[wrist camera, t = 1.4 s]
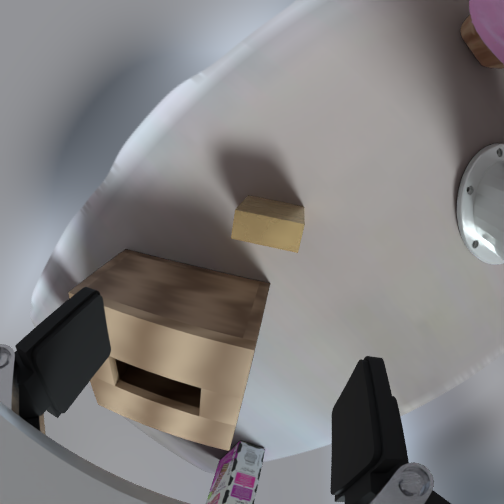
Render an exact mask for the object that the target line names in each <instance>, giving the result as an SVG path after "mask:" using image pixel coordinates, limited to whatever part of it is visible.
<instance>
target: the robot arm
mask: <svg viewBox="0 0 504 504" xmlns="http://www.w3.org/2000/svg"><path fill="white" fill-rule="evenodd" d="M457 220H458V226H459V230H460V234H461V237H462V239H463V241H464V243H465V245H466V246H467V248H468V249H469V251H470V252H471V253H472V254H473V255H474V256H476V257H477V258H478V259H480V260H481V261H483V262H485V263H488V264H495V265H498V264H503V263H504V144H492V145H489V146H486V147H485V148H483V149H482V150H480V151H479V152H478V153H477V154H476V155H475V156H474V157H473V158H472V160H471V161H470V163H469V164H468V166H467V168H466V170H465V172H464V174H463V177H462V180H461V183H460V187H459V191H458V198H457ZM16 349H17V351H16V352H15V353H14V351H13V349H12V348H11V347H10V346H7V345H2V344H0V504H189V503H186V502H182V501H179V500H176V499H173V498H170V497H167V496H164V495H162V494H159V493H156V492H154V491H151V490H148V489H146V488H143V487H141V486H138V485H136V484H134V483H132V482H129V481H127V480H125V479H123V478H120V477H118V476H116V475H114V474H112V473H110V472H108V471H106V470H104V469H102V468H100V467H98V466H96V465H94V464H92V463H90V462H89V461H87V460H85V459H83V458H81V457H79V456H78V455H76V454H75V453H73V452H71V451H69V450H68V449H66V448H64V447H63V446H61V445H60V444H58V443H57V442H55V441H54V440H52V439H51V438H49V437H48V436H46V435H45V425H44V415H43V414H44V412H45V411H46V410H47V411H48V412H49V413H51V414H53V415H54V416H55V417H57V418H58V417H59V416H60V414H61V413H65V412H66V411H67V410H68V408H69V407H70V406H71V404H72V403H73V402H74V400H75V399H76V398H77V396H78V395H79V394H80V393H81V391H82V390H83V389H84V387H85V386H86V385H87V384H88V382H89V381H90V380H91V379H92V377H93V376H94V375H95V373H96V372H97V371H98V370H99V368H100V367H101V366H102V365H103V363H104V362H105V361H106V360H107V358H108V357H109V356H110V353H111V345H110V340H109V334H108V329H107V323H106V316H105V309H104V302H103V297H102V296H101V295H100V292H99V291H97V290H94V289H92V288H89V287H84V288H82V289H81V290H80V291H78V292H77V293H76V294H75V295H73V296H72V297H71V298H70V299H69V300H67V301H66V302H65V303H64V304H63V305H61V306H60V307H59V308H58V309H57V310H55V311H54V312H53V313H52V314H51V315H49V316H48V317H47V318H46V319H45V320H44V321H42V322H41V323H40V324H39V325H38V326H37V327H36V328H34V329H33V330H32V331H31V332H30V333H29V334H28V335H27V336H25V337H24V338H23V339H22V340H21V341H20V342H19V343H18V344H17V345H16ZM433 487H434V480H433V476H432V474H431V473H430V471H429V470H428V469H427V468H426V467H425V466H424V465H421V464H419V463H409V462H408V456H407V450H406V444H405V439H404V433H403V428H402V423H401V418H400V413H399V408H398V404H397V401H396V398H395V397H394V396H392V394H391V390H390V385H389V381H388V377H387V373H386V368H385V364H384V361H383V359H382V358H377V357H370V356H366V357H365V358H364V360H359V362H358V363H357V365H356V367H355V369H354V371H353V373H352V375H351V377H350V379H349V381H348V382H347V384H346V386H345V388H344V390H343V392H342V393H341V395H340V397H339V399H338V400H337V402H336V404H335V406H334V408H333V411H332V466H331V494H332V495H335V502H345V504H450V503H449V502H448V501H447V500H445V499H444V498H443V497H441V496H440V495H438V494H437V493H436V492H434V491H433V490H432V489H433Z"/></svg>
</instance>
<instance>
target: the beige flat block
mask: <svg viewBox="0 0 504 504" xmlns="http://www.w3.org/2000/svg"><path fill="white" fill-rule="evenodd" d="M304 225H305V223H304V207H302V206H298V205H293V204H288V203H284V202H279V201H274V200H269V199H264V198H259V197H254V196H249V195H248V196H247V198H246V199H245V200H244V201H243V202H242V203H241V204H240V205H239V206H238V207H237V209H236V210H235V215H234V221H233V228H232V235H231V239H236V240H241V241H245V242H250V243H255V244H259V245H264V246H269V247H273V248H278V249H282V250H287V251H292V252H296V253H298V250H299V246H300V242H301V237H302V233H303V229H304Z"/></svg>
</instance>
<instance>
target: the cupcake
mask: <svg viewBox="0 0 504 504" xmlns="http://www.w3.org/2000/svg"><path fill="white" fill-rule="evenodd" d="M469 10H470V15H469V16H468V17H467V18H466V20H465V21H464V22H463V24H462V26H461V29H460V31H461V36H462V38H463V40H464V42H465V43H466V44H467V46H468V47H469V48H470V50H471V51H472V53H473V54H474V56H475V57H476V59H477V60H478V61H479V62H480V64H481V65H482V66H484V67H489V68H504V0H469Z"/></svg>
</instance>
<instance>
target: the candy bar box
mask: <svg viewBox="0 0 504 504" xmlns="http://www.w3.org/2000/svg"><path fill="white" fill-rule="evenodd" d="M264 452H265V449H264V448H261V447H258V446H255V445H252V444H249V443H247V442H243V441H239V442H238V443H237V444H236V445H235V446H234V447H233V448H232V449H231V450H230V451H229V452H228V453H227V454H226V455H225V456H224V457H223V458H222V459H221V460H219V463H218V467H217V470H216V473H215V476H214V479H213V483H212V486H211V489H210V492H209V495H208V498H207V501H206V504H254V500H255V495H256V491H257V486H258V482H259V477H260V472H261V467H262V462H263V457H264Z"/></svg>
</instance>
